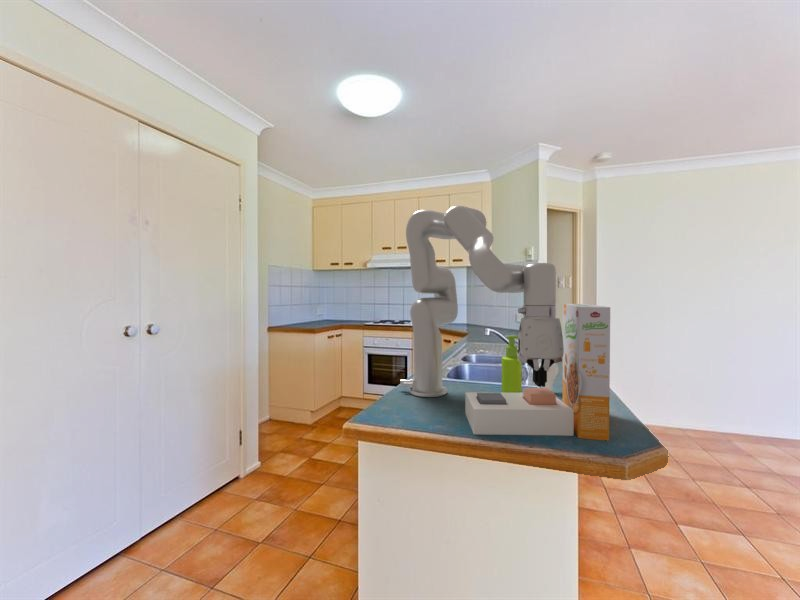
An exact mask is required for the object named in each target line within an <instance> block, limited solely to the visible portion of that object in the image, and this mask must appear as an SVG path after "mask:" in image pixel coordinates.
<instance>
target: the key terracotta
mask: <svg viewBox="0 0 800 600" xmlns="http://www.w3.org/2000/svg"><path fill="white" fill-rule="evenodd" d="M522 393H523V399H524V400H525V401H526V402H527V403H528V404H530V405H556V397H557V394H556V392H553V390H552V391H551V390H549V389H548V388H544V387H523V392H522Z"/></svg>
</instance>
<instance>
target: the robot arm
mask: <svg viewBox="0 0 800 600" xmlns="http://www.w3.org/2000/svg"><path fill="white" fill-rule="evenodd" d="M405 237H406V243H407V247H408V248H407V249H408V252H409V259H410V260H409V261H410V262H409V263H410V274H411V283H412V287H413V290H414V291H415V292H417V293H418V294H422V295H423V294H424V295H426V294H427V295H431V294H433V295H434V296H433V297H431V296H430V297H421V298H418V299H416V300H415V301H413V303H412V304H411V306H410V310H409V311H410V312H409V313H410V319H411V325H412V326H411V327H412V335H413V336H412V337H413V376H412V378H409V379H399V380H400V384H399V385H400V386H403V387H404V388H405V387H409V388H408V391H409V393H410V395H412V396H416V397H421V398H438V397H442V396H445V395H446V394H447V393H448V388H447V387H445V386H443V337H442V334H441V330H440V329H439V327H438V326H445V325H446V326H447V325H451V324H452V323H454V322H455V320H456V319H457V317H458V313H459V312H458V311H459V307H458V298H457V297H458V295H457V286H456V284H457V283H456V279H455V276H454V273H453V272H452V271H451V270H450V269H449V268H448V267H445V266H439V265H437V261H436V253H435V249H434V247H433V244H432V243H431V242H430V239H429V238H435V239H438V240H456V241H457V242H458V243H459V244H460V245H461V247H463V248H464V250H465V251H466V252H467V254H468V260H469V264H470V268H471V269H472V271H473V273H474V274H475V275H476V276H477V278H478V279H479V280H480V281H481V282H482V283H483V285H484V286H485V287H486V288H487V289H489V290H490V291H492V292H495V293H499V294H503V293H504V294H505V293H506V294H507V293H509V294H511V293H512V294H515V293H518V294H520V293H523V305H522V307H519V308H517V314H521V315H522V316H523V317H521V318H520V322H519V328H518V335H517V336H518V338H517V357H518V361H520V362H522V363H524V364H527V365H529V367H530V368H531V369H532V382H533V383H534V385H535V386H537V388H544V387H545V383H546V382H547V371H548V370H549V368H550V367H551V366H552V365H553V364H554V363H556V364H558V363H563V354H564V346H563V327H562V323H561V319H560V318H558V317H557V312H556V311H557V310H556V309H557V305H556V303H557V289H556V288H557V283H556V281H557V275H556V274H557V271H556V269H557V268H556V266H555V265H554V264H553V263H551V262H533V263H529V264H526V265H523V264H522V265H520V264H514V263H513V264H512V263H510V264H509V263H504V262H502V261H501V260H500V259H499V257H497V255H496V254H494V253H493V251H492V249H491V246H492V245H493V243H494V236H493V233H492V232H491V231H490V230H489V229H488V228H487V218H486V216H485V214H484V213H483V212H482V211H481V210H479V209H476V208H473V207H472V208H471V207H468V206H464V205H455V206H451V207H449V209H447V210H446V211H445V212H439V211H436V210H431V209H420V210H417V211H415V212H413V214H411V215H410V217H409V218H408V221H407V224H406V228H405ZM539 360H540V363H541V364H540V363H539ZM539 364H540V368H539Z"/></svg>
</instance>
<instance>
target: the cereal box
mask: <svg viewBox="0 0 800 600" xmlns="http://www.w3.org/2000/svg"><path fill="white" fill-rule="evenodd" d="M562 335H563V346H564V354H563V357H562V394H561V395H562V400H561V401H562V402H564V403H565V404H566V405H568V406H569V407H570V408H572V409H573V410H574V433H575V434H576V436H577V438H578V439H586V440H597V441H605V440H607V442H609V441H610V398H611V397H610V395H611V393H610V389H611V387H610V381H611V379H610V377H611V374H610V372H611V364H610V363H611V307H609V306H605V305H598V304H597V305H596V304H588V303H563V304H562Z"/></svg>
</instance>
